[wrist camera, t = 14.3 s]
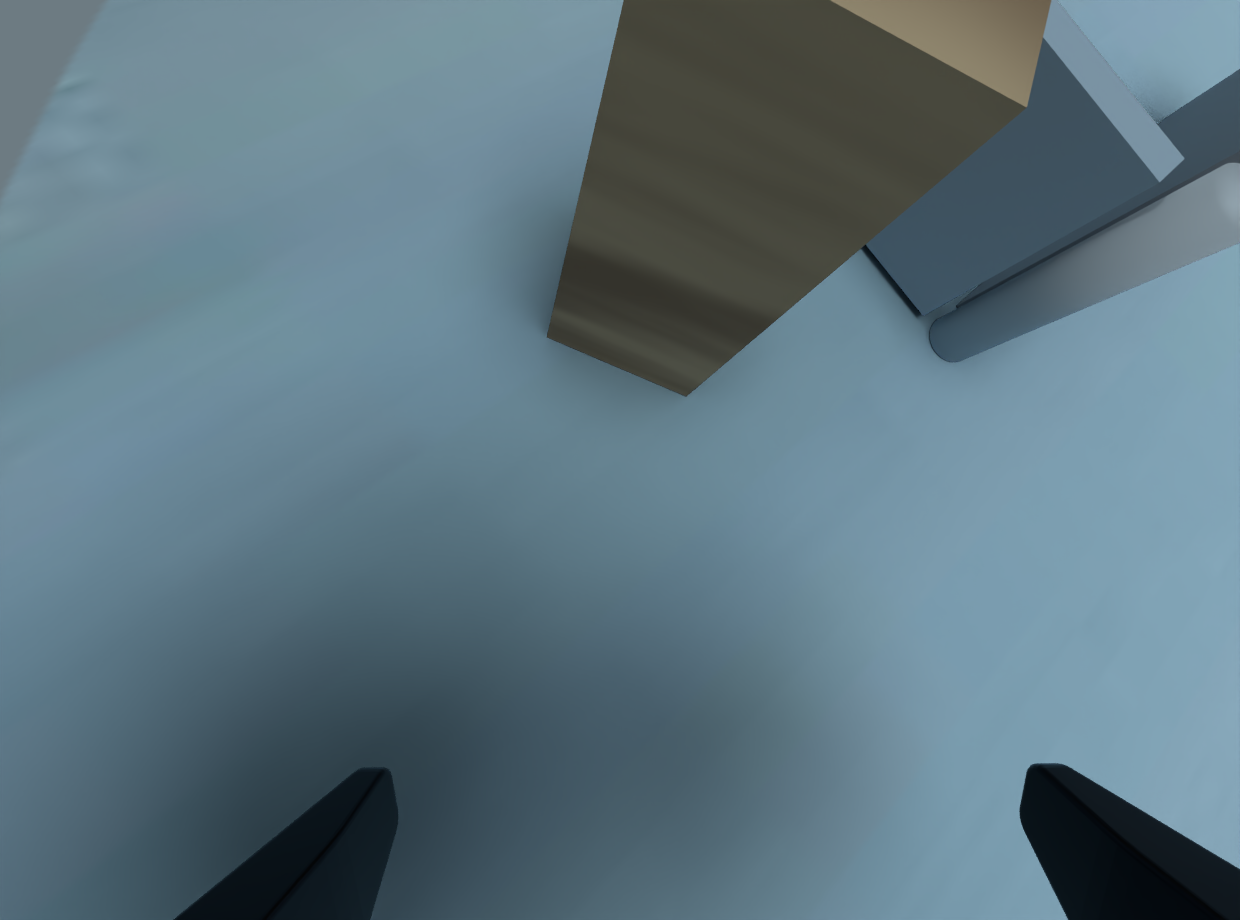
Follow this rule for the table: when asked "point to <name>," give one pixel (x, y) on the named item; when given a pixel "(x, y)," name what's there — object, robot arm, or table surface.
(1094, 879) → the robot arm
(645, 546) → the table surface
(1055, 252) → the wall
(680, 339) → the block
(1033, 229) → the door
